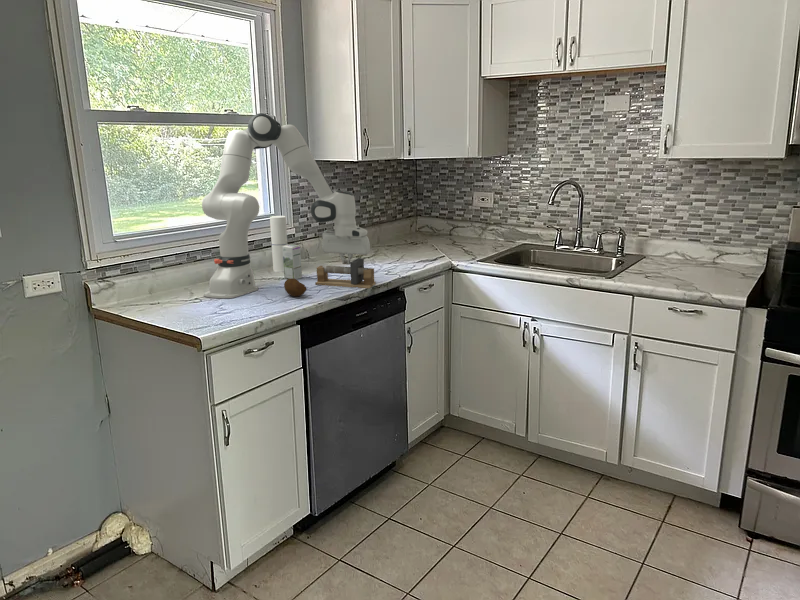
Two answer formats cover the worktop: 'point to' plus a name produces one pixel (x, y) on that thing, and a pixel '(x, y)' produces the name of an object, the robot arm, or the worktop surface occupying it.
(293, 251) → the syrup box
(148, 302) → the worktop surface
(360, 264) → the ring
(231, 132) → the robot arm
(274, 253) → the cylindrical container
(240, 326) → the worktop surface
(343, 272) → the pipe rig
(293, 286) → the potato
